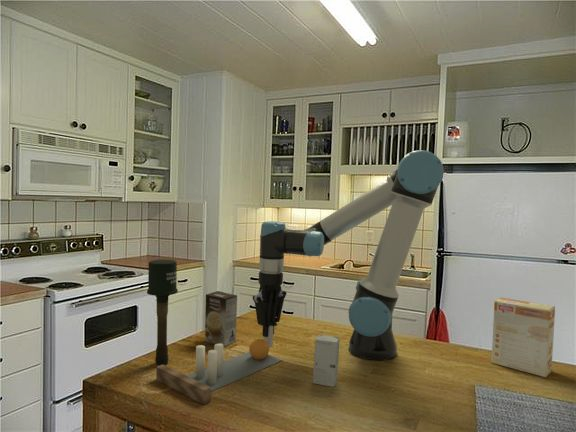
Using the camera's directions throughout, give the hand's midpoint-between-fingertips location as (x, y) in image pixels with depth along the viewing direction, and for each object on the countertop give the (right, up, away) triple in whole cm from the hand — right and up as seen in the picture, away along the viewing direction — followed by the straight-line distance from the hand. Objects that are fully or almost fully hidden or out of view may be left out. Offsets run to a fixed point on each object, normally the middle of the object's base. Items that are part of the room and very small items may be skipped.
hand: (267, 345), depth 134 cm
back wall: (-21, -4, -26) cm, 33 cm away
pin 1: (-17, -3, -18) cm, 25 cm away
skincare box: (+16, -4, -19) cm, 25 cm away
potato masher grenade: (-30, -3, -9) cm, 32 cm away
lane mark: (-9, -3, -12) cm, 16 cm away
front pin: (-13, -3, -16) cm, 21 cm away
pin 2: (-14, -3, -21) cm, 26 cm away
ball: (-2, 0, -4) cm, 5 cm away
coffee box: (-16, -2, +10) cm, 19 cm away
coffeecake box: (+76, -5, -5) cm, 77 cm away
